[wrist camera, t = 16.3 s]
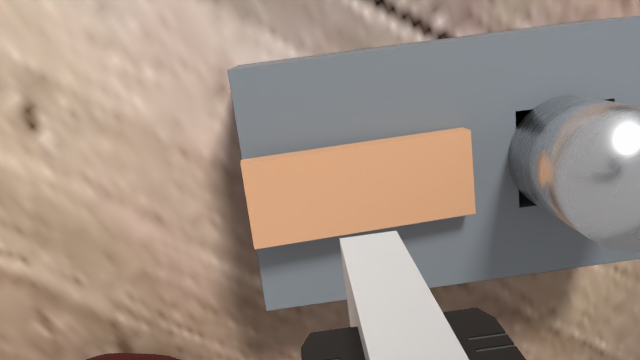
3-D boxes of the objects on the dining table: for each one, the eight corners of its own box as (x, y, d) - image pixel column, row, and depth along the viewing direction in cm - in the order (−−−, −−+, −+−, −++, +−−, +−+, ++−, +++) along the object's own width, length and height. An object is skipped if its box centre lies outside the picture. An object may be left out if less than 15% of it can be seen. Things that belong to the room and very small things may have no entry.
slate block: (591, 19, 32) (659, 14, 26) (592, 220, 34) (654, 256, 29) (238, 65, 31) (227, 70, 25) (270, 265, 34) (266, 310, 28)
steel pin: (564, 80, 32) (716, 100, 21) (566, 174, 33) (709, 242, 22) (467, 92, 32) (567, 120, 21) (473, 187, 33) (569, 261, 22)
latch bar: (462, 127, 26) (470, 130, 25) (467, 207, 27) (475, 213, 26) (240, 159, 25) (240, 164, 24) (253, 242, 26) (254, 249, 25)
